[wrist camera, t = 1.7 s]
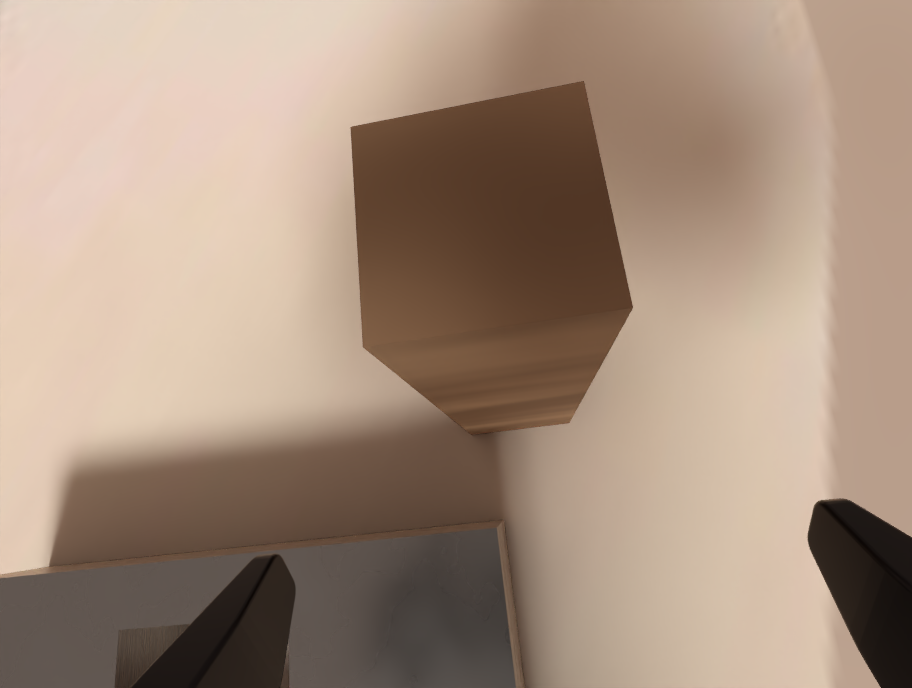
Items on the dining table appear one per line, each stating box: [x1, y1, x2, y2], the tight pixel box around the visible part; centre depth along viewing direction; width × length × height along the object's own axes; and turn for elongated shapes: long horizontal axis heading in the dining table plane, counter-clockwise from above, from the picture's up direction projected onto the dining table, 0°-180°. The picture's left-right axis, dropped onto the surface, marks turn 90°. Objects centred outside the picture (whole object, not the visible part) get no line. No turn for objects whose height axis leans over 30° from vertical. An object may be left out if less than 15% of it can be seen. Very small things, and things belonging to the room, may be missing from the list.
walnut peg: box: [351, 81, 633, 435], centre depth 15 cm, size 4×4×14 cm
